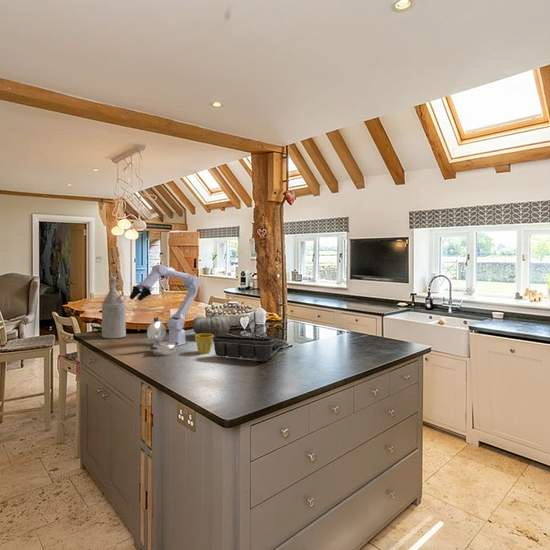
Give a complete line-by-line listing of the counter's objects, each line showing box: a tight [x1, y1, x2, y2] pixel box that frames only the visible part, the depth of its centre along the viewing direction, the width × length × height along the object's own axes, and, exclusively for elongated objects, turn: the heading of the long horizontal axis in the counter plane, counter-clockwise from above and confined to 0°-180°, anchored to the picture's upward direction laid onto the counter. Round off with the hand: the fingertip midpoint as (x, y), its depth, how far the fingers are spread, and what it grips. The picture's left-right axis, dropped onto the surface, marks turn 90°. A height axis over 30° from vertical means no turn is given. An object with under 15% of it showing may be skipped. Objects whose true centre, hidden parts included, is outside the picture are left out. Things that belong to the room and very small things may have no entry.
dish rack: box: [212, 329, 287, 360], centre depth 226 cm, size 34×44×12 cm
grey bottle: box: [101, 276, 127, 339], centre depth 259 cm, size 13×17×40 cm
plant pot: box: [194, 334, 214, 355], centre depth 223 cm, size 10×10×10 cm
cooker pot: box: [149, 341, 179, 357], centre depth 219 cm, size 17×12×5 cm
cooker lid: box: [146, 316, 167, 344], centre depth 223 cm, size 12×14×1 cm
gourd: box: [191, 311, 231, 336], centre depth 265 cm, size 25×25×17 cm
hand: (134, 299), depth 218 cm, fingers open, 7 cm apart
